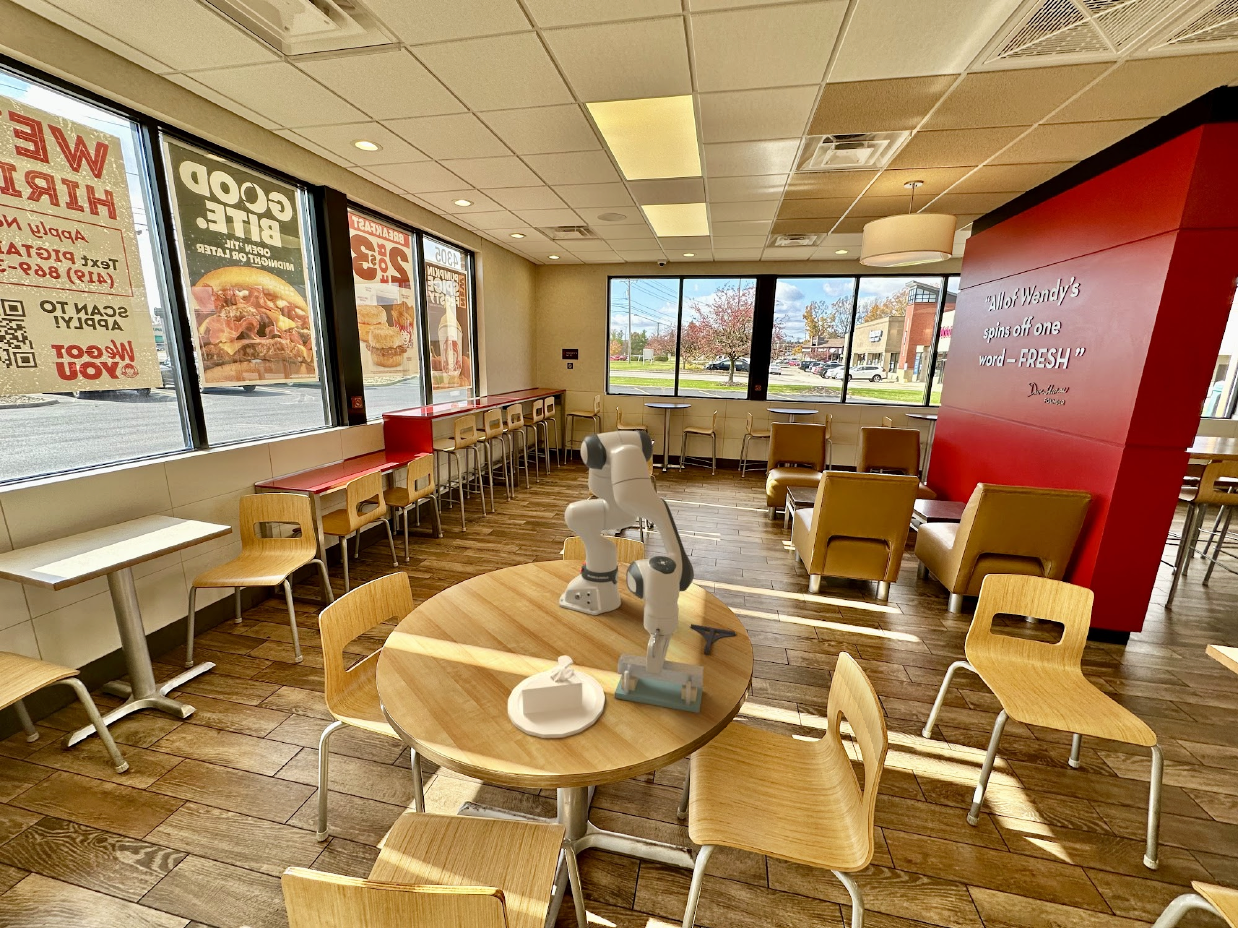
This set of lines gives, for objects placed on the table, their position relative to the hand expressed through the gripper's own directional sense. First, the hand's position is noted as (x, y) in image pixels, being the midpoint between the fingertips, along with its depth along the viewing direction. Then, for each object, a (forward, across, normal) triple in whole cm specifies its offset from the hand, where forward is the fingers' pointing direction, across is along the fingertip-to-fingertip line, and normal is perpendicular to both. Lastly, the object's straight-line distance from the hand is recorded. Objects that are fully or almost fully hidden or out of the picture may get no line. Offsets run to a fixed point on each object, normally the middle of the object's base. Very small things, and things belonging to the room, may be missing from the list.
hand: (659, 668), depth 130 cm
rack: (+8, 0, 0) cm, 8 cm away
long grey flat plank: (+2, 0, 0) cm, 2 cm away
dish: (+8, -10, +25) cm, 28 cm away
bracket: (+9, +29, -11) cm, 32 cm away
